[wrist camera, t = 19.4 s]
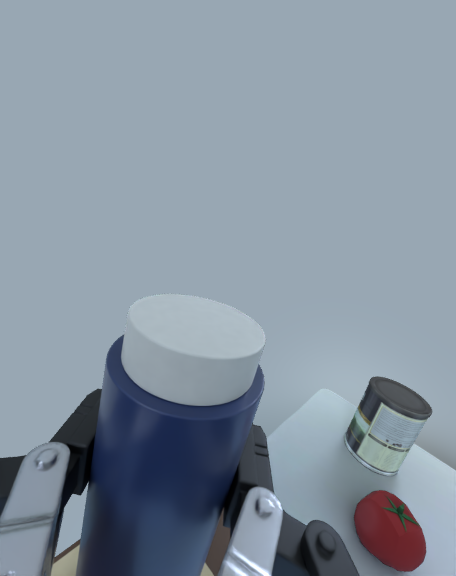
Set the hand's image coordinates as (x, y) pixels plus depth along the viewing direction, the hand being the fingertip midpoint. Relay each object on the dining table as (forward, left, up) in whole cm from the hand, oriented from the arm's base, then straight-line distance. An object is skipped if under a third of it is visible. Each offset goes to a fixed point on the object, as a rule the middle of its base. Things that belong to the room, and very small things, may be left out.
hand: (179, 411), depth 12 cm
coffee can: (+41, -29, -28) cm, 57 cm away
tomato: (+23, -26, -28) cm, 44 cm away
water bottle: (-2, -1, -8) cm, 8 cm away
